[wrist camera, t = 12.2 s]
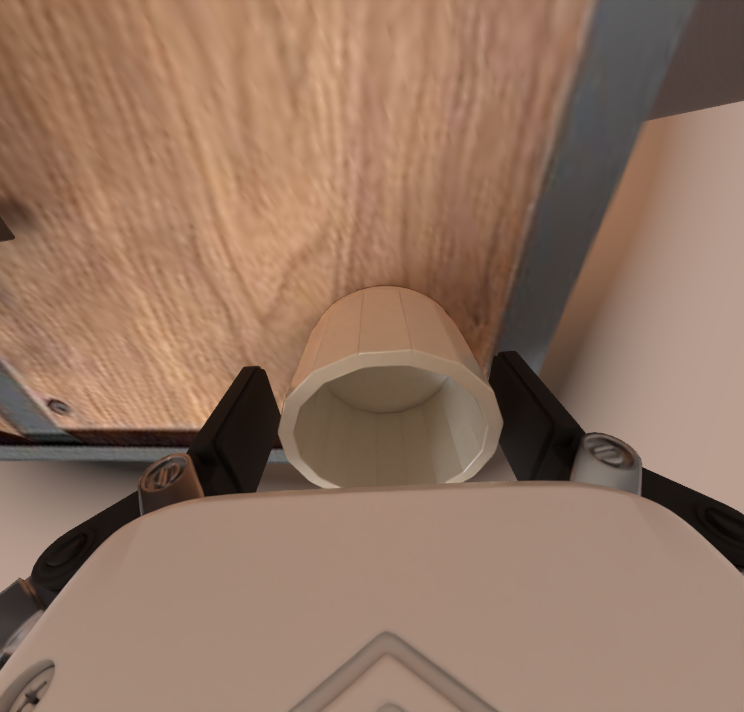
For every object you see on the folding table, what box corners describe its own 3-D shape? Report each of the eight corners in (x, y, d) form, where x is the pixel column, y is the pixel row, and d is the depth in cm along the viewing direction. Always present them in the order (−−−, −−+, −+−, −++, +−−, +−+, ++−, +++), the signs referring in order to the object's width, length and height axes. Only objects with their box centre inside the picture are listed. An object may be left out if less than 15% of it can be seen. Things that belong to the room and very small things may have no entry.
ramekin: (468, 279, 11) (526, 343, 7) (451, 408, 15) (483, 499, 11) (295, 291, 11) (248, 358, 7) (323, 414, 15) (303, 505, 11)
